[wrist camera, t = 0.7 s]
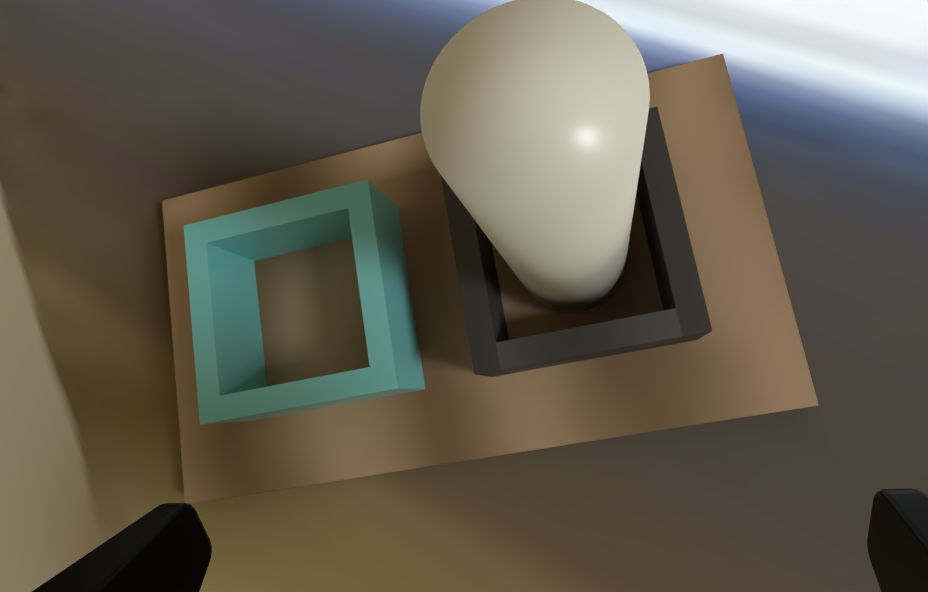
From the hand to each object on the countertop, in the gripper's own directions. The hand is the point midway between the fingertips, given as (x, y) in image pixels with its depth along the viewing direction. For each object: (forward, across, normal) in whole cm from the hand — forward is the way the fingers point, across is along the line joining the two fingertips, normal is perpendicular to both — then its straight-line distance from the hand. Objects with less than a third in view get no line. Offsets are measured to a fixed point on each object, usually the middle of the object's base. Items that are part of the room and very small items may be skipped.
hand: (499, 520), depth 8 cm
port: (+13, +8, +3) cm, 16 cm away
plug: (+14, -1, +2) cm, 14 cm away
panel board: (+14, +4, +4) cm, 15 cm away
